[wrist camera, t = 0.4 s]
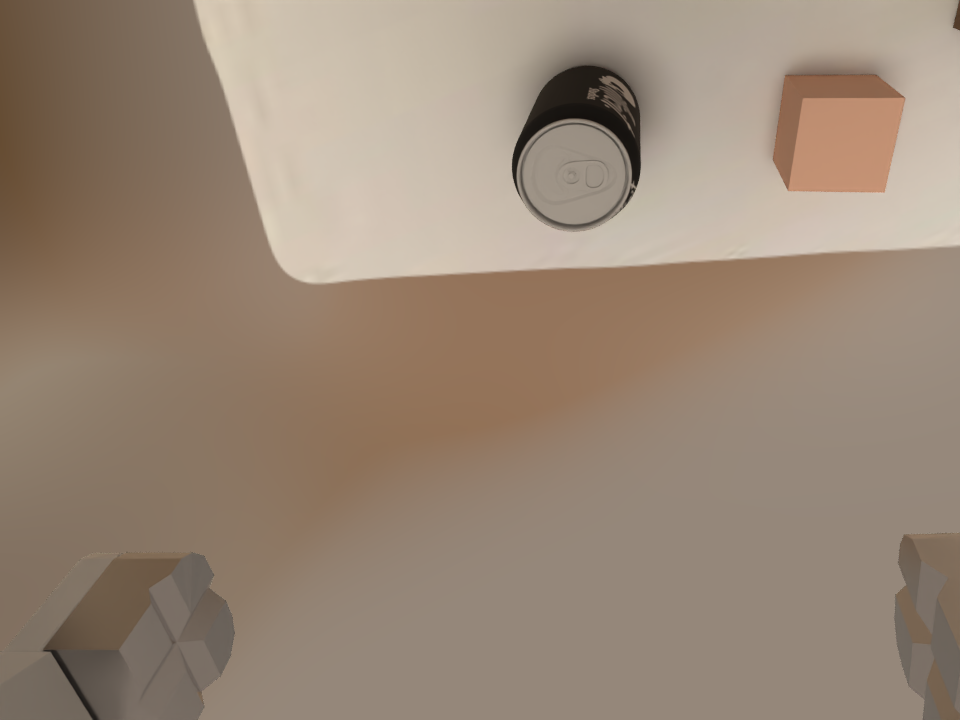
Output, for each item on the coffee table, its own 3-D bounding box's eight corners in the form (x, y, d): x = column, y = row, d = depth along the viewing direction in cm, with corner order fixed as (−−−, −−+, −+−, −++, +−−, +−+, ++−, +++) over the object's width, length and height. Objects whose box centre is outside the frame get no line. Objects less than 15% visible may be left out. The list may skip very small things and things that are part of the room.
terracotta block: (784, 75, 47) (802, 98, 42) (875, 74, 46) (905, 98, 41) (772, 159, 50) (788, 191, 45) (858, 160, 49) (884, 192, 44)
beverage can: (533, 63, 49) (506, 110, 39) (643, 62, 48) (644, 110, 38) (533, 169, 53) (509, 238, 42) (636, 170, 51) (636, 241, 41)
